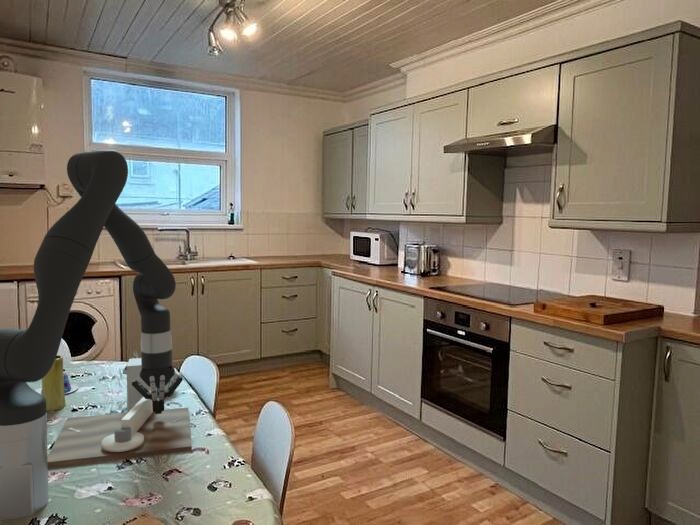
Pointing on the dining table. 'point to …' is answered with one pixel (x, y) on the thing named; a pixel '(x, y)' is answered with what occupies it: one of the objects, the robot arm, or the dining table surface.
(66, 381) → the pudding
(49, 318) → the robot arm
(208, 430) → the dining table surface
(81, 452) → the board
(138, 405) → the white pivot lever
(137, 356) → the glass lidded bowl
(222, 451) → the dining table surface
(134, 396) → the small box
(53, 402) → the vase
